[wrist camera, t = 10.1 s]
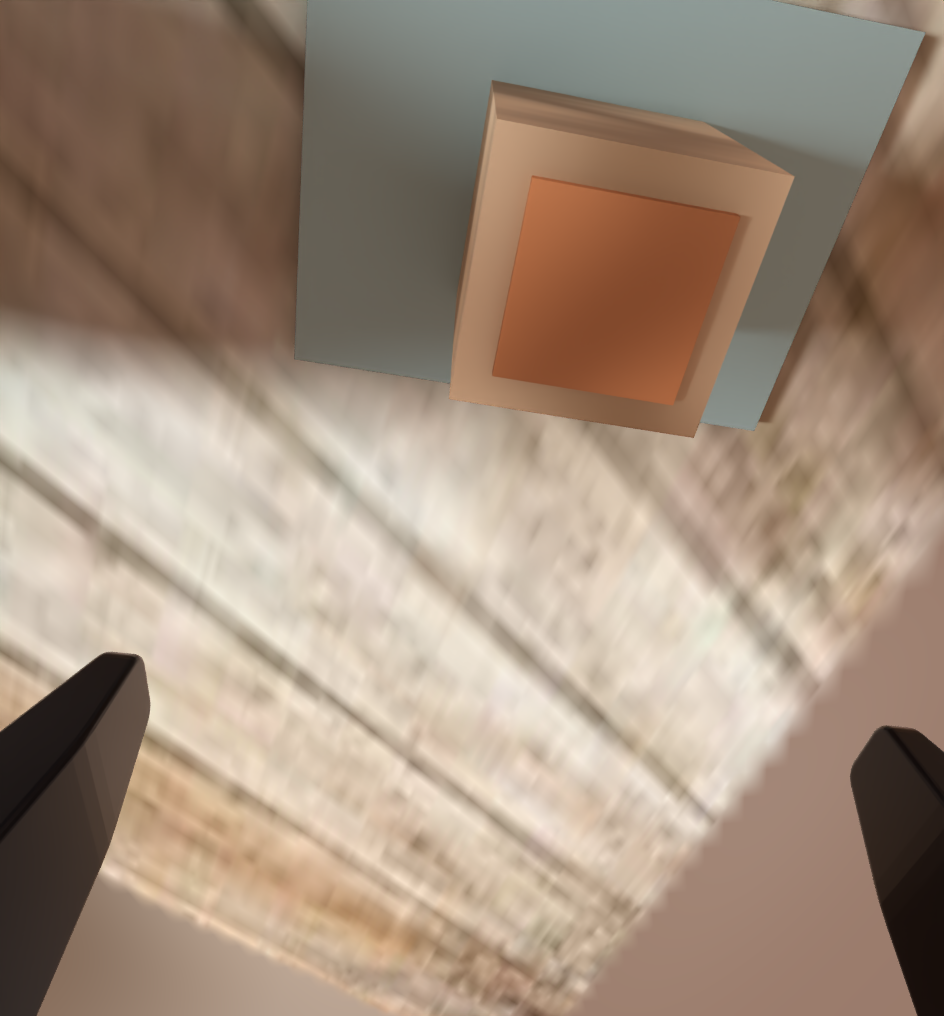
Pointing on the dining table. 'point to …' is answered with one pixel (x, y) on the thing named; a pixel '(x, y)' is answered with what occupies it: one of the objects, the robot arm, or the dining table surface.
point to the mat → (582, 73)
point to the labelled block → (606, 260)
